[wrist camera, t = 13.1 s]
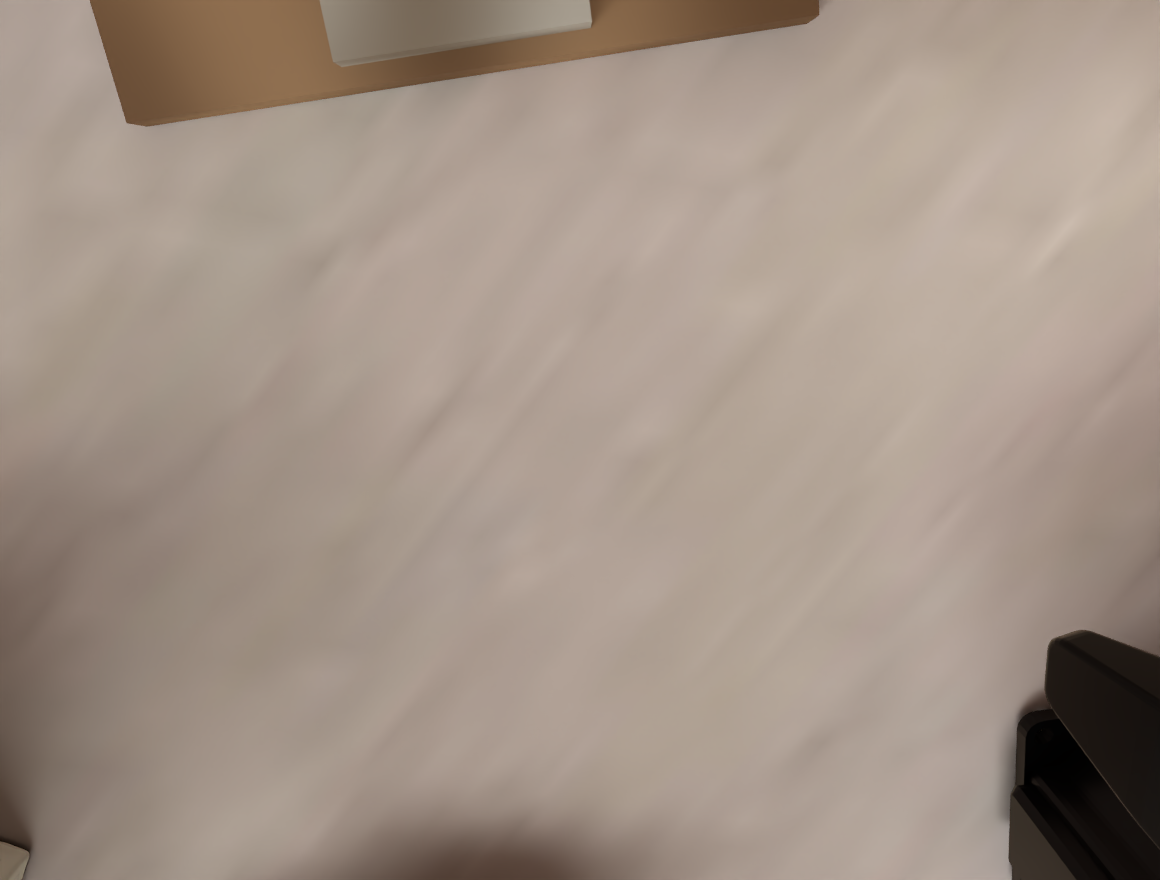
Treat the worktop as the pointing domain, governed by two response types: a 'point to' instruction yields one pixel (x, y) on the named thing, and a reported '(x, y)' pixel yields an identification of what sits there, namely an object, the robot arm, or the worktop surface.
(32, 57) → the worktop surface
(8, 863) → the supplement box
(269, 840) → the worktop surface
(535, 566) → the worktop surface
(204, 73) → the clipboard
